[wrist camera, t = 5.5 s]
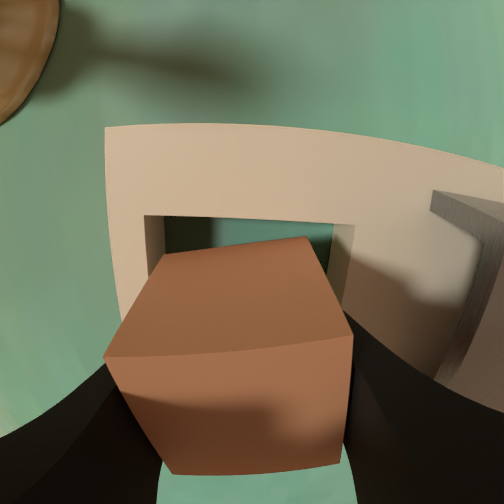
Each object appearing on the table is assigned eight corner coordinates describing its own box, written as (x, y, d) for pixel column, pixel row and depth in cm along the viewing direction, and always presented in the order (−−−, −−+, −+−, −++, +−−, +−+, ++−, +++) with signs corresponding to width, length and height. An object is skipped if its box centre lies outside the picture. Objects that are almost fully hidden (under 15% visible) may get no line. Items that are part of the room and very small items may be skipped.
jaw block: (163, 254, 10) (102, 357, 5) (306, 236, 10) (353, 335, 5) (194, 362, 11) (172, 474, 7) (312, 349, 11) (339, 463, 7)
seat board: (132, 126, 10) (104, 127, 8) (542, 182, 11) (572, 193, 9) (154, 378, 15) (143, 412, 13) (481, 366, 15) (499, 389, 13)
